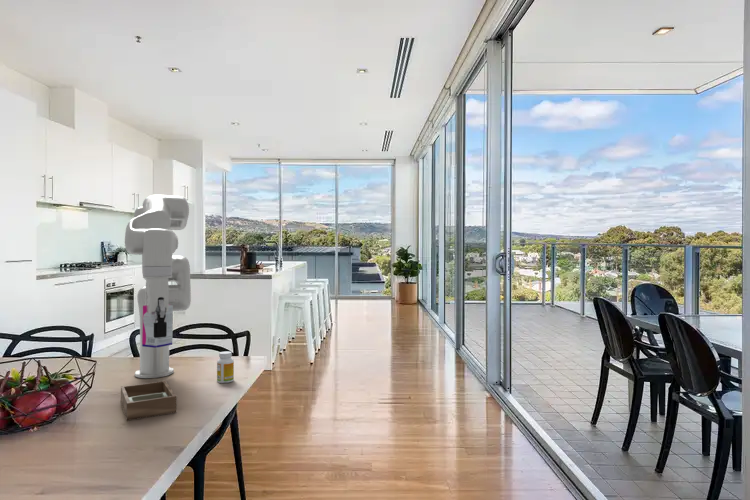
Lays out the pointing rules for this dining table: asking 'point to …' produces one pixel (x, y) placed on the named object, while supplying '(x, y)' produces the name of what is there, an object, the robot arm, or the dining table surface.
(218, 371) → the supplement bottle
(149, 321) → the supplement box
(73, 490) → the dining table surface
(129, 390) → the walnut box
